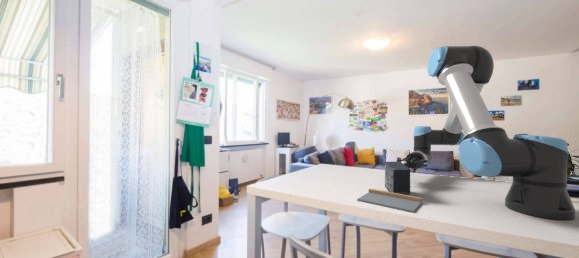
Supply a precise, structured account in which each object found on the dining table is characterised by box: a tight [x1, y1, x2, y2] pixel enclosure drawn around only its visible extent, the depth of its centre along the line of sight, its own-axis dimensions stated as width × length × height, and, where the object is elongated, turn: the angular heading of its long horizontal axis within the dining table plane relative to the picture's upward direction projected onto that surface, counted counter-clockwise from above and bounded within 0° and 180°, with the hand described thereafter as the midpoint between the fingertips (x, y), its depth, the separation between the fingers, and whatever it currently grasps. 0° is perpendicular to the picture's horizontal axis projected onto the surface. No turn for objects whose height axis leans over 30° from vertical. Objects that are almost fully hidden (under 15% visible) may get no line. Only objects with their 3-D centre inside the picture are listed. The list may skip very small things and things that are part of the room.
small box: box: [384, 160, 411, 196], centre depth 93 cm, size 11×6×10 cm, turn 176°
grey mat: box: [356, 188, 423, 214], centre depth 84 cm, size 18×12×2 cm, turn 50°
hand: (399, 166), depth 97 cm, fingers closed
